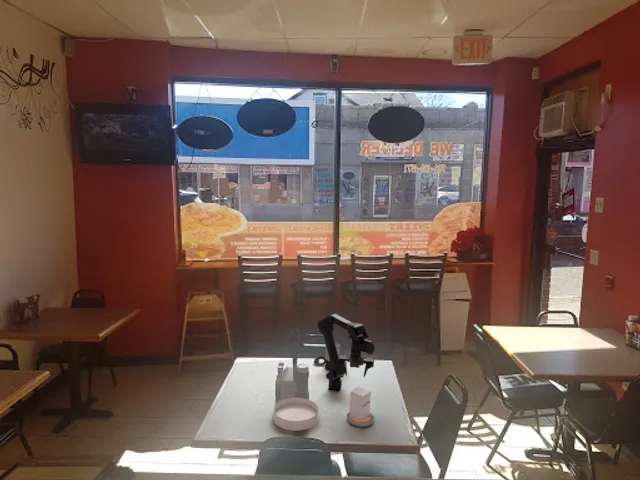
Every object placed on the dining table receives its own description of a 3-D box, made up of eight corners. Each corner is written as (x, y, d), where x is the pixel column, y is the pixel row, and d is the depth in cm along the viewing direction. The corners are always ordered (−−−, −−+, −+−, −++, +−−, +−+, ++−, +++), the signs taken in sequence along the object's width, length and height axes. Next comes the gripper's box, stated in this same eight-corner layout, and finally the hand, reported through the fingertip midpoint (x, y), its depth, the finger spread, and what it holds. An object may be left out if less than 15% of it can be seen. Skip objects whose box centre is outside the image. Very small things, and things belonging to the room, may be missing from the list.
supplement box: (361, 421, 218) (362, 396, 216) (348, 415, 223) (349, 391, 221) (370, 415, 224) (371, 390, 222) (357, 409, 228) (358, 386, 226)
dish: (328, 419, 224) (328, 409, 223) (294, 436, 208) (294, 426, 207) (297, 402, 239) (297, 393, 238) (263, 417, 223) (263, 407, 223)
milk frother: (340, 371, 275) (340, 348, 273) (313, 371, 275) (314, 347, 273) (338, 362, 289) (339, 339, 287) (313, 361, 289) (314, 338, 287)
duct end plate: (345, 426, 218) (345, 421, 217) (348, 411, 230) (348, 408, 230) (372, 429, 215) (373, 425, 215) (374, 415, 228) (374, 411, 228)
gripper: (336, 352, 232) (335, 381, 234) (373, 356, 229) (372, 385, 231) (339, 344, 243) (338, 372, 245) (374, 347, 239) (373, 375, 242)
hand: (355, 376), depth 240 cm, fingers open, 9 cm apart
